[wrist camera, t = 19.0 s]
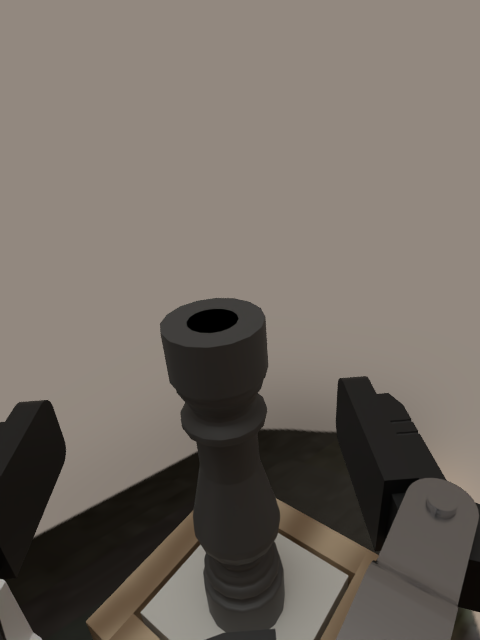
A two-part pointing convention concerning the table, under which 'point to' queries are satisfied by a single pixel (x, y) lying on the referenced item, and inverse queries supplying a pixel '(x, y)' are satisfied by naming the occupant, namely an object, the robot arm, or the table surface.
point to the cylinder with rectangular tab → (13, 617)
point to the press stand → (149, 578)
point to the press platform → (298, 611)
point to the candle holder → (228, 456)
